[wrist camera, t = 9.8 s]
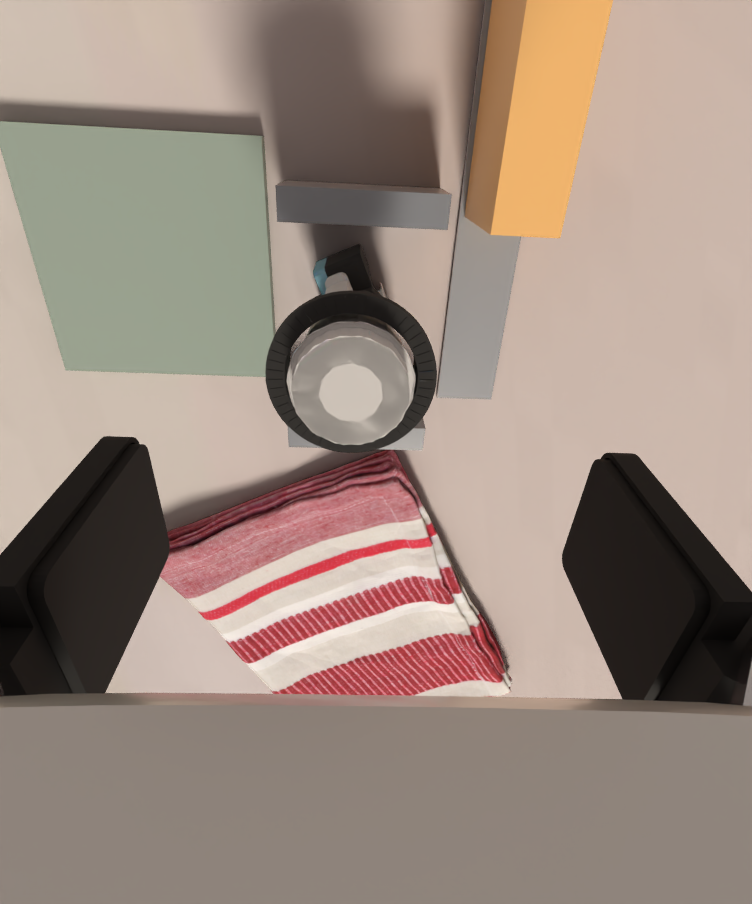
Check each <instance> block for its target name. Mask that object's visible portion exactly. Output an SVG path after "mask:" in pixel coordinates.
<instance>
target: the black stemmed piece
mask: <svg viewBox="0 0 752 904" xmlns="http://www.w3.org/2000/svg"><path fill="white" fill-rule="evenodd" d="M313 274H314V277H315V280H316V282H317V285H318V287H319V289H320V292H321V295H319V296H316V297H315V298H313V299H311V300H309V301H307V302H305V303H304V304H302V305H301V306H299V307H298V308H297V309H296V310H294V311H293V312H292V313H291V314H290V315H289V316H288V317H287V318H286V319H285V320H284V322H283V323H282V324H281V326H280V327H279V329H278V330H277V332H276V334H275V336H274V338H273V340H272V343H271V345H270V348H269V351H268V355H267V360H266V370H265V375H266V384H267V389H268V393H269V396H270V399H271V401H272V404H273V406H274V408H275V409H276V411H277V413H278V414H279V416H280V417H281V419H282V420H283V421H284V422H285V423H286V424H287V426H288V427H289V428H291V429H292V430H293V431H294V432H295V433H296V434H298V435H299V436H300V437H302V438H303V439H305V440H307V441H308V442H310V443H312V444H314V445H317V446H319V447H322V448H325V449H329V450H332V451H338V452H347V453H358V452H367V451H372V450H376V449H380V448H382V447H385V446H388V445H390V444H392V443H394V442H396V441H398V440H399V439H401V438H402V437H404V436H405V435H406V434H408V433H409V432H410V431H411V430H412V429H413V428H414V427H415V426H416V425H417V424H418V423H419V422H420V421H421V419H422V418H423V416H424V415H425V413H426V412H427V410H428V408H429V406H430V404H431V401H432V399H433V395H434V392H435V387H436V378H437V370H436V361H435V356H434V353H433V349H432V347H431V344H430V342H429V339H428V337H427V335H426V333H425V332H424V330H423V328H422V327H421V326H420V324H419V323H418V322H417V320H416V319H415V318H414V317H413V316H412V315H411V314H410V313H409V312H407V311H406V310H405V309H404V308H402V307H401V306H400V305H398V304H397V303H395V302H393V301H391V300H389V299H387V297H386V294H385V291H384V289H383V286H382V283H381V282H380V283H379V284H380V290H378V291H377V290H376V289H374V287H373V284H372V280H371V276H370V271H369V266H368V263H367V260H366V257H365V254H364V252H363V249H362V246H361V244H358V245H356V246H353V247H351V248H349V249H346V250H344V251H341V252H339V253H337V254H334V255H332V256H329V257H327V258H324V259H322V260H320V261H317V262H316V265H315V268H314V271H313ZM310 326H311V327H310ZM309 327H310V329H309V331H308V334H307V336H306V338H305V340H304V341H303V342H302V343H301V344H300V345H299V347H298V348H297V349H296V350H295V351H294V353H293V355H292V357H291V361H290V352H291V347H292V346H293V344H294V342H295V341H296V340H297V338H298V337H299V336H300V335H301V334H302V333H303V332H304V331H305V330H306V329H307V328H309ZM393 328H394V329H395V330H396V331H397V332H398V333H399V334H400V335H401V336H402V337H403V338H404V339H405V340H406V342H407V343H408V345H409V346H410V348H411V350H412V352H413V355H414V365H413V366H412V363H411V359H410V356H409V354H408V352H407V351H406V350H405V348H404V347H403V346H402V342H401V339H400V337H399V336H398V335H397V333H396V332H395V331H394V329H393Z"/></svg>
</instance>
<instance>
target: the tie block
mask: <svg viewBox="0 0 752 904" xmlns="http://www.w3.org/2000/svg"><path fill="white" fill-rule="evenodd" d="M612 2H613V0H492V4H491V12H490V20H489V28H488V36H487V44H486V51H485V59H484V67H483V75H482V83H481V91H480V99H479V106H478V114H477V122H476V130H475V138H474V146H473V154H472V161H471V169H470V177H469V185H468V193H467V201H466V209H465V216H464V217H466V218H467V219H469V220H470V221H471V222H473V223H474V224H476V225H477V226H479V227H480V228H481V229H483V230H484V231H486V232H487V233H488V234H490V235H502V236H523V237H544V238H560V236H561V232H562V227H563V223H564V218H565V214H566V209H567V205H568V200H569V196H570V191H571V187H572V182H573V178H574V173H575V169H576V164H577V160H578V155H579V151H580V146H581V142H582V137H583V133H584V128H585V124H586V119H587V115H588V110H589V106H590V101H591V97H592V92H593V88H594V83H595V79H596V74H597V70H598V65H599V61H600V56H601V52H602V47H603V43H604V38H605V34H606V29H607V25H608V20H609V16H610V11H611V7H612Z"/></svg>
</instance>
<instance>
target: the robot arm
mask: <svg viewBox="0 0 752 904" xmlns="http://www.w3.org/2000/svg"><path fill="white" fill-rule="evenodd" d="M169 550H170V544H169V538H168V534H167V530H166V525H165V521H164V517H163V512H162V508H161V504H160V499H159V495H158V491H157V486H156V482H155V478H154V474H153V469H152V465H151V461H150V456H149V452H148V449H147V447H146V446H145V445H142V444H139V442H138V441H137V439H136V438H134V437H111V436H106V437H103V438H102V439H100V441H99V442H98V443H97V444H96V445H95V446H94V448H93V449H92V450H91V451H90V452H89V453H88V454H87V456H86V457H85V458H84V459H83V460H82V461H81V462H80V464H79V465H78V466H77V467H76V468H75V469H74V471H73V472H72V473H71V474H70V475H69V476H68V477H67V479H66V480H65V481H64V482H63V483H62V484H61V486H60V487H59V488H58V489H57V490H56V491H55V492H54V494H53V495H52V496H51V497H50V498H49V499H48V500H47V502H46V503H45V504H44V505H43V506H42V507H41V509H40V510H39V511H38V512H37V513H36V514H35V515H34V517H33V518H32V519H31V520H30V521H29V522H28V524H27V525H26V526H25V527H24V528H23V529H22V530H21V532H20V533H19V534H18V535H17V536H16V537H15V538H14V540H13V541H12V542H11V543H10V544H9V545H8V547H7V548H6V549H5V550H4V551H3V552H2V553H1V555H0V904H752V592H751V591H750V589H749V588H748V587H747V586H746V585H745V583H744V582H743V581H742V580H741V579H740V577H739V576H738V575H737V574H736V573H735V571H734V570H733V569H732V568H731V567H730V566H729V564H728V563H727V562H726V561H725V560H724V558H723V557H722V556H721V555H720V554H719V552H718V551H717V550H716V549H715V548H714V546H713V545H712V544H711V543H710V542H709V540H708V539H707V538H706V537H705V536H704V534H703V533H702V532H701V531H700V530H699V528H698V527H697V526H696V525H695V524H694V523H693V521H692V520H691V519H690V518H689V517H688V515H687V514H686V513H685V512H684V511H683V509H682V508H681V507H680V506H679V505H678V503H677V502H676V501H675V500H674V499H673V497H672V496H671V495H670V494H669V493H668V491H667V490H666V489H665V488H664V487H663V486H662V484H661V483H660V482H659V481H658V480H657V478H656V477H655V476H654V475H653V474H652V472H651V471H650V470H649V469H648V468H647V466H646V465H645V464H644V463H643V462H642V460H641V459H640V458H639V457H638V456H637V455H636V454H629V453H606V454H604V455H603V456H602V457H601V459H597V460H595V461H594V462H593V464H592V467H591V470H590V473H589V476H588V479H587V482H586V485H585V488H584V491H583V494H582V497H581V500H580V503H579V506H578V509H577V511H576V514H575V517H574V520H573V523H572V526H571V529H570V532H569V535H568V538H567V541H566V544H565V547H564V550H563V554H562V563H563V567H564V570H565V572H566V575H567V577H568V579H569V581H570V584H571V586H572V588H573V590H574V592H575V595H576V597H577V599H578V601H579V603H580V606H581V608H582V610H583V612H584V615H585V617H586V619H587V621H588V623H589V626H590V628H591V630H592V632H593V634H594V637H595V639H596V641H597V643H598V646H599V648H600V650H601V652H602V654H603V657H604V659H605V661H606V663H607V665H608V668H609V670H610V672H611V674H612V677H613V679H614V681H615V683H616V685H617V688H618V690H619V692H620V694H621V696H622V699H575V698H523V697H469V696H400V695H323V694H215V693H105V692H106V690H107V688H108V685H109V683H110V681H111V679H112V677H113V675H114V673H115V671H116V668H117V666H118V664H119V662H120V660H121V658H122V656H123V653H124V651H125V649H126V647H127V645H128V643H129V641H130V638H131V636H132V634H133V632H134V630H135V628H136V626H137V623H138V621H139V619H140V617H141V615H142V613H143V611H144V608H145V606H146V604H147V602H148V600H149V598H150V596H151V594H152V591H153V589H154V587H155V585H156V583H157V581H158V579H159V576H160V574H161V572H162V570H163V568H164V566H165V564H166V561H167V559H168V556H169Z"/></svg>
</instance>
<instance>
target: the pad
mask: <svg viewBox="0 0 752 904" xmlns="http://www.w3.org/2000/svg"><path fill="white" fill-rule="evenodd" d="M0 148H1V152H2V155H3V158H4V162H5V165H6V169H7V172H8V176H9V179H10V182H11V186H12V189H13V193H14V196H15V199H16V203H17V206H18V210H19V213H20V216H21V220H22V223H23V227H24V230H25V233H26V237H27V240H28V244H29V247H30V250H31V254H32V257H33V261H34V264H35V267H36V271H37V274H38V278H39V281H40V284H41V288H42V291H43V295H44V298H45V301H46V305H47V308H48V312H49V315H50V318H51V322H52V325H53V329H54V332H55V335H56V339H57V342H58V346H59V349H60V353H61V356H62V359H63V363H64V366H65V370H71V371H101V372H131V373H161V374H191V375H220V376H250V377H266V375H265V370H266V360H267V355H268V351H269V348H270V345H271V343H272V340H273V338H274V336H275V317H274V300H273V283H272V266H271V249H270V232H269V215H268V197H267V180H266V163H265V146H264V136H255V135H237V134H219V133H202V132H184V131H166V130H148V129H130V128H112V127H94V126H77V125H59V124H41V123H23V122H5V121H0Z"/></svg>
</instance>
